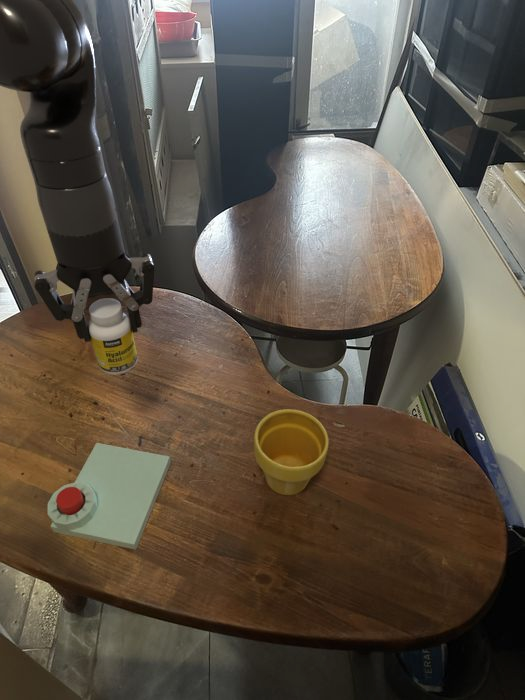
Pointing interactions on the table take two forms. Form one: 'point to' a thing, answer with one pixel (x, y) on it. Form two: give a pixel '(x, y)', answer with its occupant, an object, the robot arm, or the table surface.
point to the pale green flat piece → (113, 496)
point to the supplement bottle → (112, 337)
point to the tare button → (70, 500)
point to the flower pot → (290, 449)
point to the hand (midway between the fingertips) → (111, 332)
